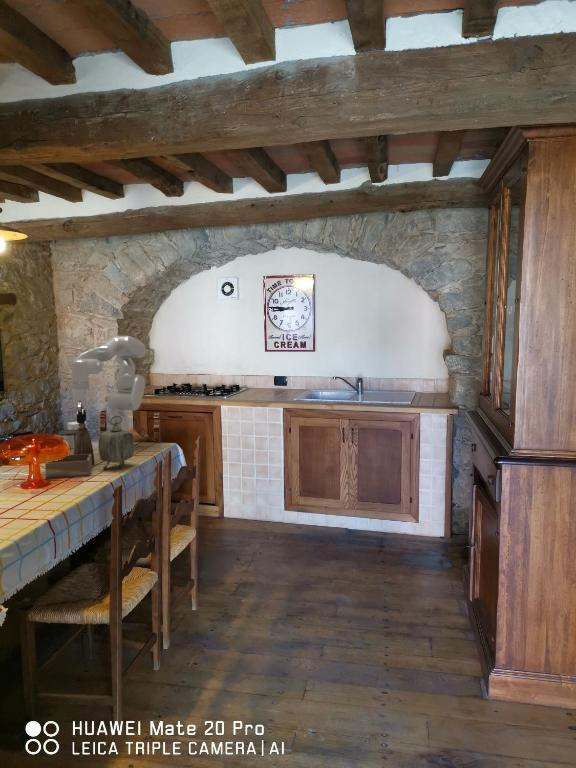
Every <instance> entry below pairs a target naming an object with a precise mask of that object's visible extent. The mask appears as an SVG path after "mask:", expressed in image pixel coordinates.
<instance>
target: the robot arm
mask: <svg viewBox="0 0 576 768" xmlns="http://www.w3.org/2000/svg"><path fill="white" fill-rule="evenodd" d="M146 353H147V348H146V346H145V344H144V343H143V342H142V341H140V340H138V339H137V338H135V337H134V336H130V335H112V336H111V337H109V338H108V339H107V340H105V341H104V342H103V343H102V344H100V345H99V346H97V347H95V348H92V349H90V350H87V351H85V352H83V353H81V354H79V355H78V356H76V358H75V359H74V360H72V361H71V362H70V363H71V365H70V366H71V368H70V369H71V390H74V391H73V393H74V394H73V406H74V407H73V410H74V411H76V421H77V423H84V418H86V419H87V411H86V409H87V407H88V406H87V404H88V402H87V401H88V395H87V393H88V392H87V390H88V389H90V380H89V379H90V375H98V374H100V373H101V372H102V370H103V367H104V366H103V363H105V362H108V361H111V360H112V359H113V358H114V357H115V356H116V357H117V360H118V362H119V363H118V364H119V368H118V372H117V376H116V380H115V383H114V386H115V389H116V391H117V392H111V393H110V394H109V395H108V397H107V406H108V411H109V421H110V420H111V418H112V417H114V416H120V417H121V418H122V422H121V423H120V424H118V426H120V427H121V428H122V430H125V431H130V425H129V415H128V413H127V412H126V411H134V412H135V411H137V410H138V409H140V407H141V404H142V400H143V395H144V392H145V388H146V382H145V381H146V380H145V378H144V377H143V375H141V374H135V373H136V365H135V363H134V362H133V360H132V359H135V358H137V359H141V358H143V357H145V355H146ZM118 391H119V392H118ZM120 421H121V419H120V418H119V417H116V418H113V419H112V420H111V423H112V424H115V422H117V423H119V422H120ZM109 424H110V423H109ZM113 426H115V425H111V424H110V428H109V429H111V428H112V427H113Z"/></svg>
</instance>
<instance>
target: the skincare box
mask: <svg viewBox="0 0 576 768" xmlns="http://www.w3.org/2000/svg"><path fill="white" fill-rule="evenodd" d="M84 423H85V428H87V429H88V423H87V421H85V422H84ZM66 425H67V430H77V429H78V428H79V423H77V420H76V421H71V422H67V424H66Z"/></svg>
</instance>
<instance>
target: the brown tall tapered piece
mask: <svg viewBox="0 0 576 768" xmlns="http://www.w3.org/2000/svg"><path fill="white" fill-rule="evenodd" d="M84 422H87V417H86V418H84ZM77 454H91V455H92V467H93V466H95V465H96V464H95V462H96V461H95V456H94V455H95V454H94V449H93V443H92V439H91V436H90V433H89V430H88V427H87V428H85V423H79V428H78V429H77V432H76V438H75V444H74V455H77Z"/></svg>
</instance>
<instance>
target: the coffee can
mask: <svg viewBox="0 0 576 768" xmlns="http://www.w3.org/2000/svg"><path fill="white" fill-rule="evenodd" d="M76 432H77V430H68V429H64V430H61V431H58V432H57V433H58V437H59V436H62V437H63V438H64V439H66V440H67V441H68V442H69V444H70V447H71V454H70V455H74V444H75V438H76Z"/></svg>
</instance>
